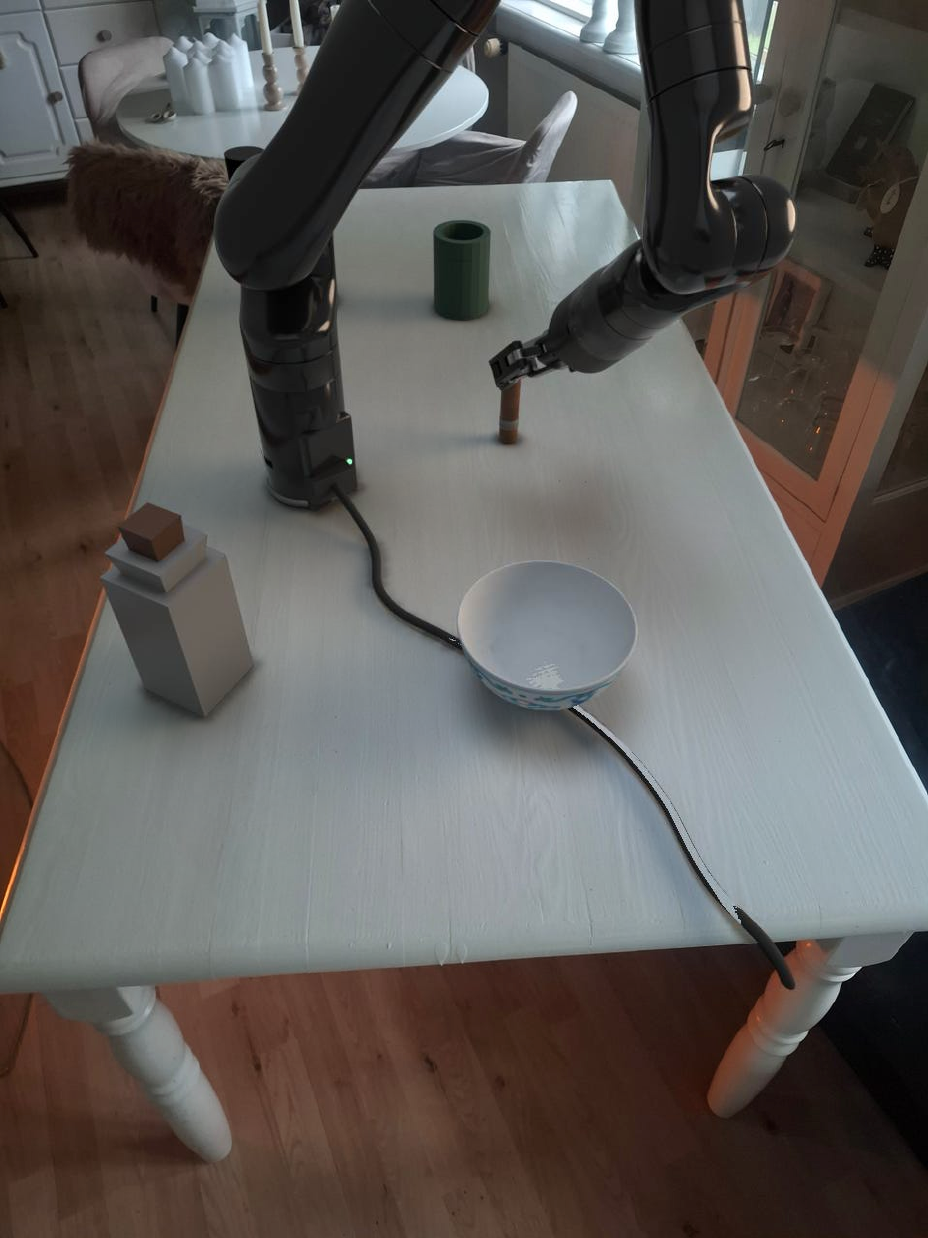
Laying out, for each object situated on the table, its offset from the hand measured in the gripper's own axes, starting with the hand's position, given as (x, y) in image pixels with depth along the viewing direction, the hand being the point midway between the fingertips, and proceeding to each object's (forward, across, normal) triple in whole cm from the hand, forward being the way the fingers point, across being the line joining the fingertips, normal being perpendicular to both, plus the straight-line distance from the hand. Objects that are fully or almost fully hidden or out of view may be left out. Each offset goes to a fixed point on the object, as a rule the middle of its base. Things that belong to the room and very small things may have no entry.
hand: (535, 371), depth 92 cm
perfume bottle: (-3, +42, +20) cm, 47 cm away
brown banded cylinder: (+12, 0, +5) cm, 13 cm away
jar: (+34, -10, -18) cm, 40 cm away
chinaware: (-12, +15, +29) cm, 35 cm away
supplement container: (+65, +8, -49) cm, 82 cm away
